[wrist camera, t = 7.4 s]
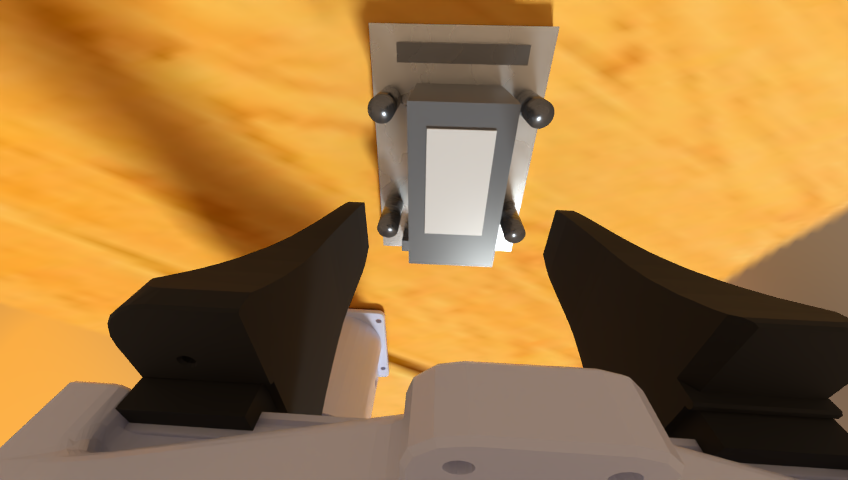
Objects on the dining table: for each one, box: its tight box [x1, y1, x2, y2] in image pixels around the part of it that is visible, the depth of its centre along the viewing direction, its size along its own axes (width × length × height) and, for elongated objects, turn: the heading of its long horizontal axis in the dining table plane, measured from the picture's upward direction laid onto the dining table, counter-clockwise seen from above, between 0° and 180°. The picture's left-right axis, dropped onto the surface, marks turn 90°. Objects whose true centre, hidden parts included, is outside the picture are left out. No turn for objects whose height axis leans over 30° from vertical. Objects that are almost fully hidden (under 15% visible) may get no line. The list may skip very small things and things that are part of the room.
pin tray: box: [368, 23, 559, 251], centre depth 17 cm, size 13×9×4 cm
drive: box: [407, 83, 521, 267], centre depth 16 cm, size 8×4×5 cm, turn 179°
